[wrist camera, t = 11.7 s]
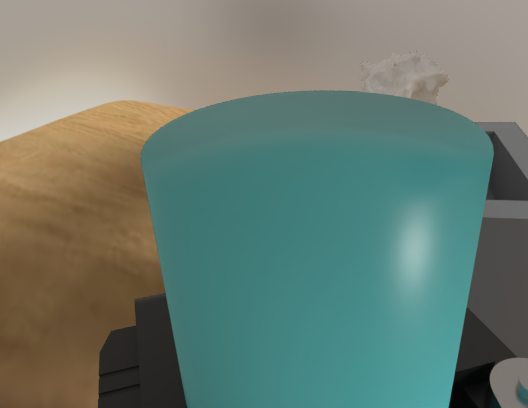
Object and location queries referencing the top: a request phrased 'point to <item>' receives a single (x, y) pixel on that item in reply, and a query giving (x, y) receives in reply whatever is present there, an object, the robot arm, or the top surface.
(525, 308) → the upper socket stand
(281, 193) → the plug
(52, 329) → the top surface
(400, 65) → the bust
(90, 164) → the top surface
